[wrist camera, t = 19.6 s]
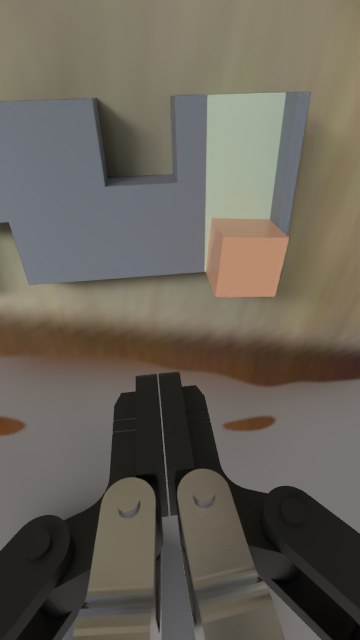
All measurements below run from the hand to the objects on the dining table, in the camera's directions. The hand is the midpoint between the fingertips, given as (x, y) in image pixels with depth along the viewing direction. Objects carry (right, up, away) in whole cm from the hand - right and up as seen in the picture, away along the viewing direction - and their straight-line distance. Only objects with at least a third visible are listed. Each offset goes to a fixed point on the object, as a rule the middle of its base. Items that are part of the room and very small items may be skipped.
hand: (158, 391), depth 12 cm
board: (-8, +12, +14) cm, 20 cm away
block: (+5, +8, +15) cm, 18 cm away
